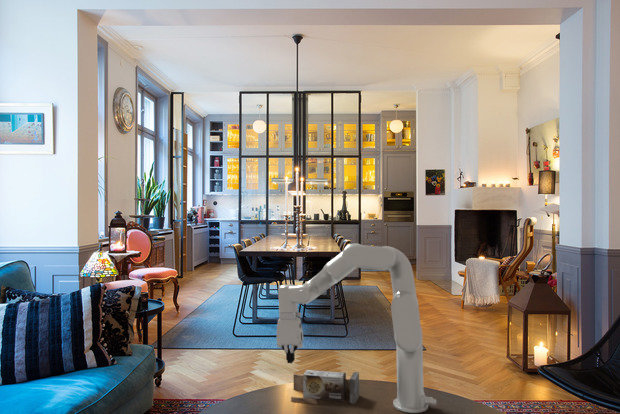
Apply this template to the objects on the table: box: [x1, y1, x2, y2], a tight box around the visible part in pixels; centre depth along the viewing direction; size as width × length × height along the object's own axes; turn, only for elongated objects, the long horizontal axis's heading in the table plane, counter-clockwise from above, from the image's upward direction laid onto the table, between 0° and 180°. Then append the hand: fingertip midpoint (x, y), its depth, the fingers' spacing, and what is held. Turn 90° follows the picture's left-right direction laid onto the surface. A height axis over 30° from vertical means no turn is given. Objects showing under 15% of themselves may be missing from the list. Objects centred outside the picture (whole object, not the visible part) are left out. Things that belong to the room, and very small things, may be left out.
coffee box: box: [302, 369, 347, 402], centre depth 164 cm, size 9×6×16 cm
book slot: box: [290, 371, 360, 405], centre depth 163 cm, size 27×13×9 cm, turn 73°
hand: (290, 362), depth 167 cm, fingers closed
